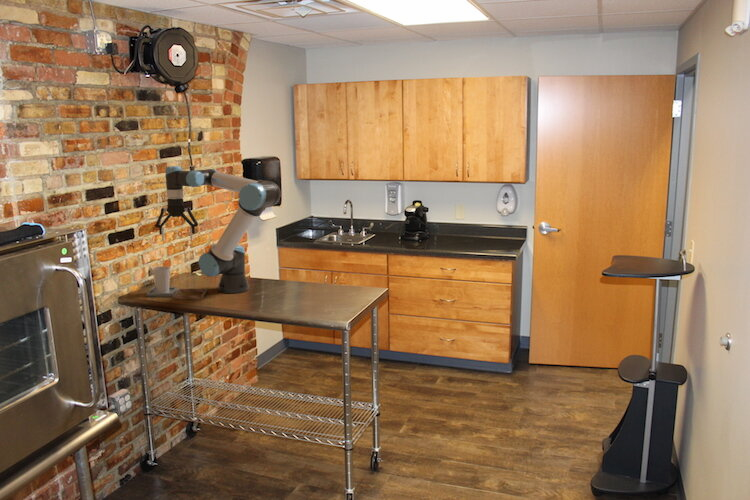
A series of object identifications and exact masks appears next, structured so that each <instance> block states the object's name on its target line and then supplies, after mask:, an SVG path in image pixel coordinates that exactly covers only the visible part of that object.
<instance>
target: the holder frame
mask: <svg viewBox="0 0 750 500" xmlns="http://www.w3.org/2000/svg"><path fill="white" fill-rule="evenodd" d="M181 293H202V294H201V295H180V294H181ZM207 294H208V288H178V291H177V292H176V293H175V294H174V295H173V297H172V299H173V300H203V299H204V297H205V296H206V295H207Z"/></svg>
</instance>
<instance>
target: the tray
mask: <svg viewBox="0 0 750 500" xmlns="http://www.w3.org/2000/svg"><path fill="white" fill-rule="evenodd" d="M178 290H179V286H169V293H156V287H155V286H152V287H151V289H149V290H148V291H147V292H146V298H173V295H174V294H175V293H176V292H177V291H178Z"/></svg>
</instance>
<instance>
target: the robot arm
mask: <svg viewBox="0 0 750 500" xmlns="http://www.w3.org/2000/svg"><path fill="white" fill-rule="evenodd" d="M165 183H166V184H165V185H166V197H167V199H166V202H167V208H165V207H161V208H160V214H159V215H158V218H157V220H156V222H155V225H154V227H155V228H158V233H159V235H161V242H163V243H164V242H165V240H166V238H165V228H164V227H163V226H165V224H166V223H167V222H168V220H170V218H171V217H172V218H182V219H183V220H184V221H185V222H186V223H187V225H189V226H190V228H189V234H190V241H191V242H193V241H194V234H196V231H195V228H196V227H198V226H199V223H198V221H197V219H196V218H195V216H194V214H193V213H192V210H191V207H189V206H188V207H186V208H185V206H184V205H185V204H184V203H185V202H184V198H183V197H184V189H183V187H189V188H197V187H198V188H199V187H201V186H210V187H215V188H219V189H223V190H227V191H231V192H234V193H235V192H236V193H238V202H237V205H238V208H237V210H236V212H235V213H234V215H233V216H232V218H231V220H229V221H230V222H229V223H228V224H227V226H226V228H225V229H224V231H223V233H221V235H220V238H218V241H217V242H216V243H213V244H212V245H211V246H210V248H209V249H208V251H207V252H204V253H203V254H201V255H200V256H199V259H198V266H199V269H200V272H201V273H202V274H203V275H205V276H207V277H209V278H212V277H213V278H214V277H217V276H219V275H221V276H220V278H219V282H218V285H217V290H218V292H220V293H224V294H239V293H244V292H247V291H249V288H250V287H249V282H248V279H247V277H246V272H245V271H246V262H245V261H246V259H245V258H246V257H245V256H246V252H245V247H244V246H243V245H239V243H240V242H241V240H242V239H243V237H244V236H245V234H246V233H247V231H248V229H249V228H250V226H251V224H252V222H254V220H255V218H258V217H260V216H261V215H262V213H263V212H264V210H265V209H266V208H269V207H273V206H274V205H277V204H278V203H279V201H280V200H281V197H282V194H281V193H282V191H281V188H280V186H278V185H279V184H277V183H275V182H274V181H268V180H264V179H259V180H254V179H249V178H246V177H241V176H238V175H237V176H236V175H233V174H230V173H229V174H228V173H225V172H220V171H219V170H217V169H215V168H213V169H212V168H208V169H198V170H197V169H196V170H183V169H182V166H181V165H179V166H178V165H171V166H169V165H168V166H166V167H165ZM166 212H167V213H168V215H166V216H165V218H164V219H163V220H162V218H163V216H164V214H165V213H166ZM184 212H186V213H188V215H189V217H187V215H185V213H184ZM189 218H190V219H189ZM191 220H192V221H191ZM161 221H162V222H161ZM160 223H161V224H160Z"/></svg>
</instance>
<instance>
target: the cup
mask: <svg viewBox="0 0 750 500" xmlns="http://www.w3.org/2000/svg"><path fill="white" fill-rule="evenodd" d="M152 272H153V276H154V287H156V293H169V287H170V282H171V281H170V279H171V278H170V277H171V267H170V266H164V265H163V266H157V267H153V268H152Z"/></svg>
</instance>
